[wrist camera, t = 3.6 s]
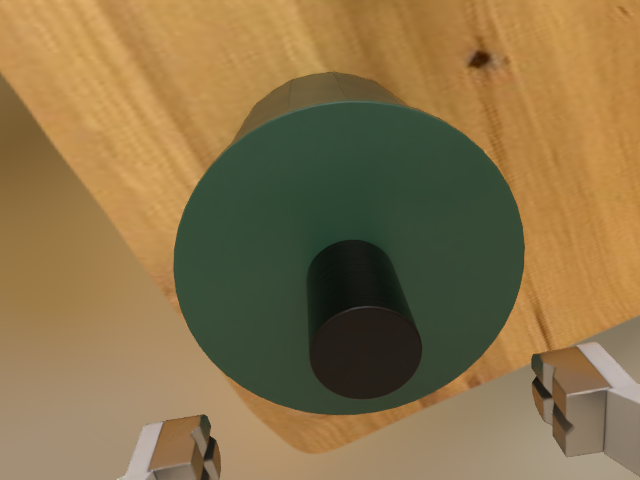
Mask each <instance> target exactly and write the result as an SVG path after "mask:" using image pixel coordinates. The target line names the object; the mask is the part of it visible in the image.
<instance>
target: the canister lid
mask: <svg viewBox="0 0 640 480" xmlns="http://www.w3.org/2000/svg"><path fill="white" fill-rule="evenodd" d="M524 250H525V245H524V235H523V226H522V222H521V218H520V214H519V210H518V206H517V204H516V201H515V199H514V197H513V194H512V192H511V190H510V187H509V185H508V184H507V182H506V180H505V179H504V177H503V176H502V174H501V172H500V171H499V169H498V168H497V166H496V165H495V164H494V163H493V162H492V160H491V159H490V158H489V157H488V156H487V155H486V154H485V152H484V151H483V150H482V149H481V148H480V147H479V146H477V145H476V144H475V143H474V142H473V141H472V140H470V139H469V138H468V137H467V136H466V135H465V134H463V133H462V132H460V131H459V130H457V129H456V128H454V127H453V126H451V125H449V124H448V123H446V122H445V121H443V120H441V119H440V118H438V117H435V116H433V115H431V114H429V113H426V112H424V111H422V110H420V109H417V108H414V107H410V106H407V105H403V104H400V103H396V102H391V101H384V100H377V99H370V98H341V99H333V100H326V101H318V102H314V103H310V104H307V105H303V106H299V107H296V108H292V109H290V110H287V111H285V112H283V113H280V114H278V115H276V116H273V117H271V118H269V119H267V120H265V121H264V122H262V123H260V124H258V125H257V126H255V127H253V128H252V129H250V130H248V131H247V132H246V133H244V134H243V135H242V136H241V137H239V138H238V139H237V140H235V141H234V142H233V143H232V144H230V145H229V146H228V147H227V148H226V149H225V150H224V151H223V152H222V153H221V154H220V155H219V156H218V158H217V159H216V160H215V161H214V162H213V163H212V164H211V165H210V167H209V168H208V170H207V171H206V172H205V174H204V175H203V177H202V178H201V179H200V181H199V182H198V184H197V186H196V187H195V189H194V191H193V193H192V195H191V197H190V199H189V201H188V203H187V205H186V207H185V209H184V212H183V215H182V218H181V221H180V224H179V227H178V231H177V237H176V242H175V248H174V279H175V287H176V293H177V297H178V300H179V304H180V308H181V311H182V313H183V316H184V318H185V320H186V323H187V325H188V327H189V330H190V331H191V333H192V334H193V336H194V338H195V339H196V341H197V343H198V344H199V346H200V347H201V348H202V350H203V351H204V352H205V353H206V355H207V356H208V357H209V358H210V360H211V361H212V362H213V363H214V364H215V365H216V366H217V367H218V368H219V369H220V370H222V371H223V372H224V373H225V374H226V375H227V376H228V377H230V378H231V379H232V380H234V381H235V382H236V383H238V384H239V385H241V386H242V387H244V388H245V389H247V390H249V391H251V392H252V393H254V394H256V395H258V396H260V397H262V398H264V399H267V400H269V401H271V402H274V403H276V404H279V405H282V406H285V407H289V408H292V409H295V410H300V411H305V412H311V413H317V414H329V415H357V414H365V413H373V412H378V411H383V410H387V409H392V408H396V407H399V406H402V405H405V404H407V403H410V402H413V401H416V400H418V399H420V398H422V397H425V396H427V395H429V394H431V393H433V392H435V391H436V390H438V389H440V388H442V387H443V386H445V385H447V384H448V383H450V382H451V381H453V380H454V379H455V378H457V377H458V376H459V375H461V374H462V373H463V372H465V371H466V370H467V369H468V368H469V367H470V366H471V365H472V364H473V363H475V362H476V361H477V360H478V359H479V358H480V357H481V356H482V355H483V353H484V352H485V351H486V350H487V349H488V348H489V346H490V345H491V344H492V343H493V342H494V340H495V339H496V337H497V336H498V334H499V333H500V331H501V329H502V328H503V326H504V325H505V323H506V321H507V319H508V317H509V315H510V313H511V311H512V309H513V307H514V304H515V301H516V298H517V295H518V292H519V289H520V285H521V279H522V274H523V269H524Z"/></svg>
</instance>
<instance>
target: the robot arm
mask: <svg viewBox="0 0 640 480" xmlns="http://www.w3.org/2000/svg"><path fill="white" fill-rule="evenodd" d="M531 360H532V369H533V371H534V372H535V374H536V375H537V376H536V378H535V379H534V381H533V382H532V389H533V390H532V391H533V397H534V401H535V405H536V407H537V409H538V412H539V414H540V415H541V417H542V419H543V420H544V422H546V423H548V424H550V425H552V426H553V437H554V438H555V440H556V441H557V443H558V445H559V446H560V448H561V449H562V451H563V452H564V454H565V455H566V457H572V456H579V455H585V454H592V453H599V452H604V454H606V455H607V456H609V457H610V458H612V459H613V460H615V461H616V462H618V463H620V464H621V465H622V466H624V467H626V468H627V469H629V470H630V471H632V472H633V473H635V474H636V475H638V476H639V477H640V383H639V384H637V383H636V382H635V381H634V380H633V379H632V378H631V377H630V376H629V375H628V374H627V372H626V371H625V370H624V369H623V368H622V367H621V366H620V365H619V364H618V363H617V362H616V361H615V360H614V359H613V358H612V357H611V356H610V355H609V354H608V353H607V352H606V351H605V349H603V347H602V346H601V345H600V344H599V343H596V342H591V343H586V344H581V345H576V346H574V347H568V348H563V349H558V350H553V351H547V352H542V353H537V354H533V356H532V359H531ZM210 429H211V425H210V422H209V420H208V417H207V416H206V415H197V416H191V417H185V418H179V419H173V420H166V421H162V422H156V423H150V424H146V425H145V426H144V427H143V428H142V430H141V433H140V435H139V438H138V441H137V444H136V446H135V449H134V452H133V455H132V457H131V460H130V462H129V465H128V468H127V470H126V473H125V476H124V477H119V478H117V479H116V480H219V478H220V471H221V463H220V462H221V460H220V452H219V447H218V444H217V442H216V440H215V439H214V438H212V437H211V436H209V435H210Z"/></svg>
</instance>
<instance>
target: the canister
mask: <svg viewBox="0 0 640 480" xmlns="http://www.w3.org/2000/svg"><path fill="white" fill-rule="evenodd" d="M341 98H370V99H377V100H384V101H391V102H396V103H400V104H403V105H407V104H405V103H404V102H403V101H401V100H400V99H399V98H397V97H396V96H394V95H393V94H392V93H390V92H389V91H388V90H386V89H385V88H383V87H382V86H381V85H379V84H378V83H377V82H375V81H373V80H369V79H365V78H361V77H358V76H354V75H349V74H342V73H337V72H328V73H320V74H313V75H308V76H304V77H301V78H297V79H293V80H291V81H288V82H287V83H285V84H284V85H282V86H280V87H279V88H277V89H275V90H274V91H272V92H271V93H270V94H268V95H267V96H266V97H265V98H263V99H262V100H261V101H259V102H258V103H257V104H256V105H255V106H254V107H253V109H252V110H251V112H250V114H249V115H248V117H247V118H246V120H245V121H244V123H243V125H242V127H241V128H240V130H239V131H238V133H237V135H236V136H235V138H234V140H233V142H234V141H235V140H237V139H238V138H239V137H241V136H242V135H243V134H244V133H246V132H247V131H248V130H250V129H252V128H253V127H255V126H257V125H258V124H260V123H262V122H264V121H265V120H267V119H269V118H271V117H273V116H276V115H278V114H280V113H283V112H285V111H287V110H290V109H292V108H296V107H299V106H303V105H307V104H310V103H314V102H318V101H326V100H333V99H341ZM407 106H408V105H407ZM233 142H232V143H233Z"/></svg>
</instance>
